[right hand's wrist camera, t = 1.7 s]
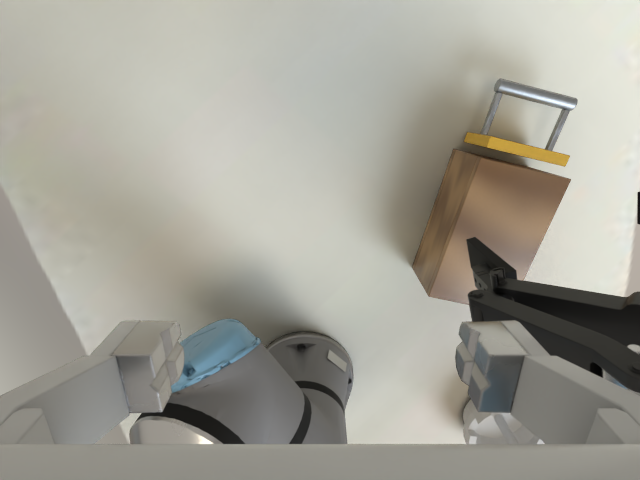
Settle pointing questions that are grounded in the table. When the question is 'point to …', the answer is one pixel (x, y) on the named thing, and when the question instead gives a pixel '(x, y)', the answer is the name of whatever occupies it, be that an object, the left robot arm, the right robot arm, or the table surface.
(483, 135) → the drawer
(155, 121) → the table surface
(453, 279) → the wooden drawer cabinet
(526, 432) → the flag stand
